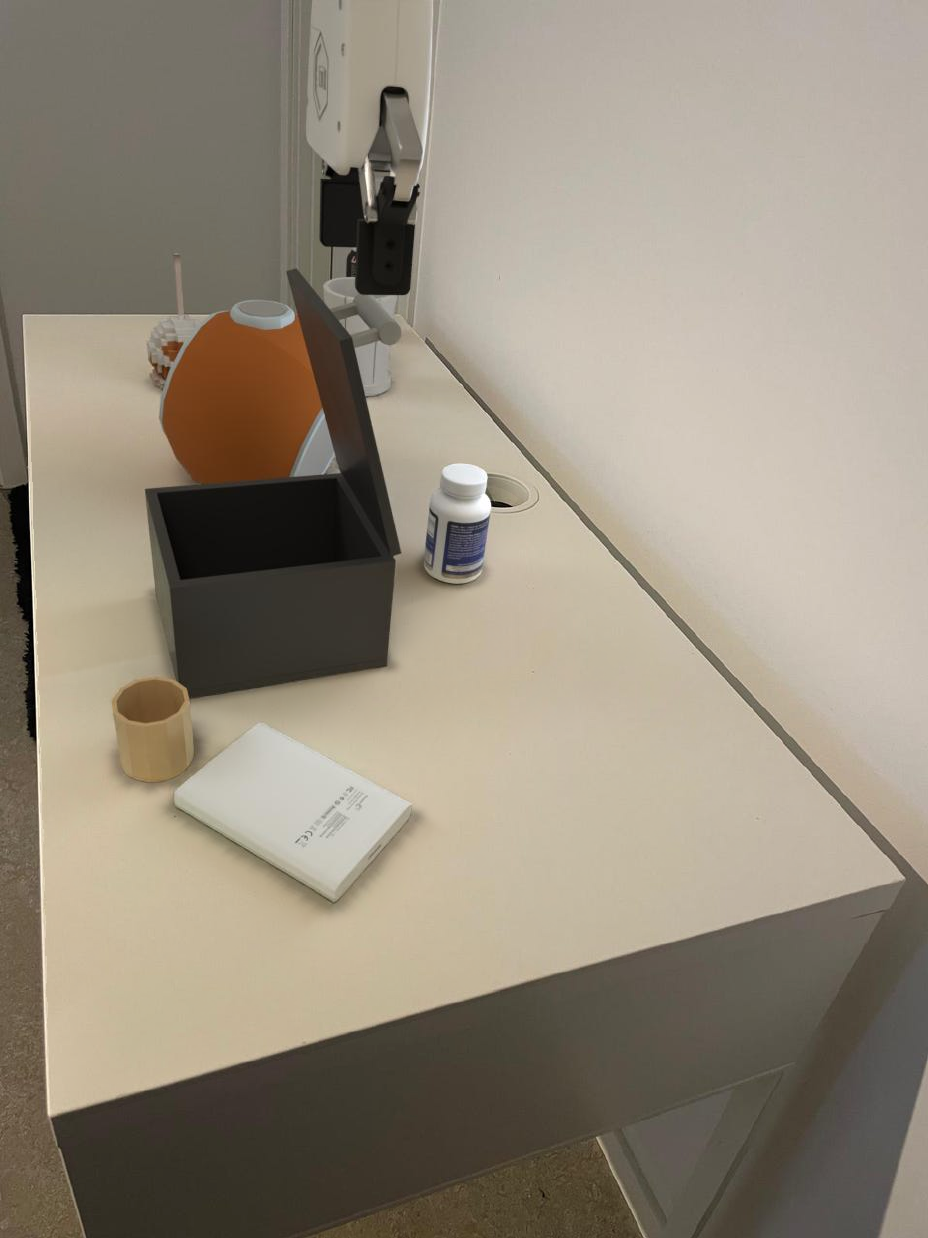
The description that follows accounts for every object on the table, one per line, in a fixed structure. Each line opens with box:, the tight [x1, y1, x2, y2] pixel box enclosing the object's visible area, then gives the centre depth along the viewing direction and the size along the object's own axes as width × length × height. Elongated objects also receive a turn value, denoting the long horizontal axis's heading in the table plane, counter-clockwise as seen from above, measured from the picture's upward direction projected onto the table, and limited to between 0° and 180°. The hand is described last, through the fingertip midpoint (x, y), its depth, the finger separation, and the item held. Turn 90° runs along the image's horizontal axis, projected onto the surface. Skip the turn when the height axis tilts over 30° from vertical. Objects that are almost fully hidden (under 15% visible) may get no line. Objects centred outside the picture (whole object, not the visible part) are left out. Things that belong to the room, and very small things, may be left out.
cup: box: [322, 276, 398, 398], centre depth 110 cm, size 10×9×12 cm
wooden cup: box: [111, 675, 195, 783], centre depth 58 cm, size 5×5×5 cm
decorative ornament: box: [146, 252, 202, 389], centre depth 104 cm, size 8×8×15 cm
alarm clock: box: [158, 299, 336, 484], centre depth 87 cm, size 19×18×17 cm
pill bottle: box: [423, 462, 492, 585], centre depth 80 cm, size 5×5×10 cm
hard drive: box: [173, 721, 413, 903], centre depth 57 cm, size 2×8×12 cm
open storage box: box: [144, 472, 397, 700], centre depth 69 cm, size 16×14×10 cm
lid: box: [285, 268, 403, 557], centre depth 64 cm, size 16×14×5 cm
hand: (361, 268), depth 56 cm, fingers open, 9 cm apart
